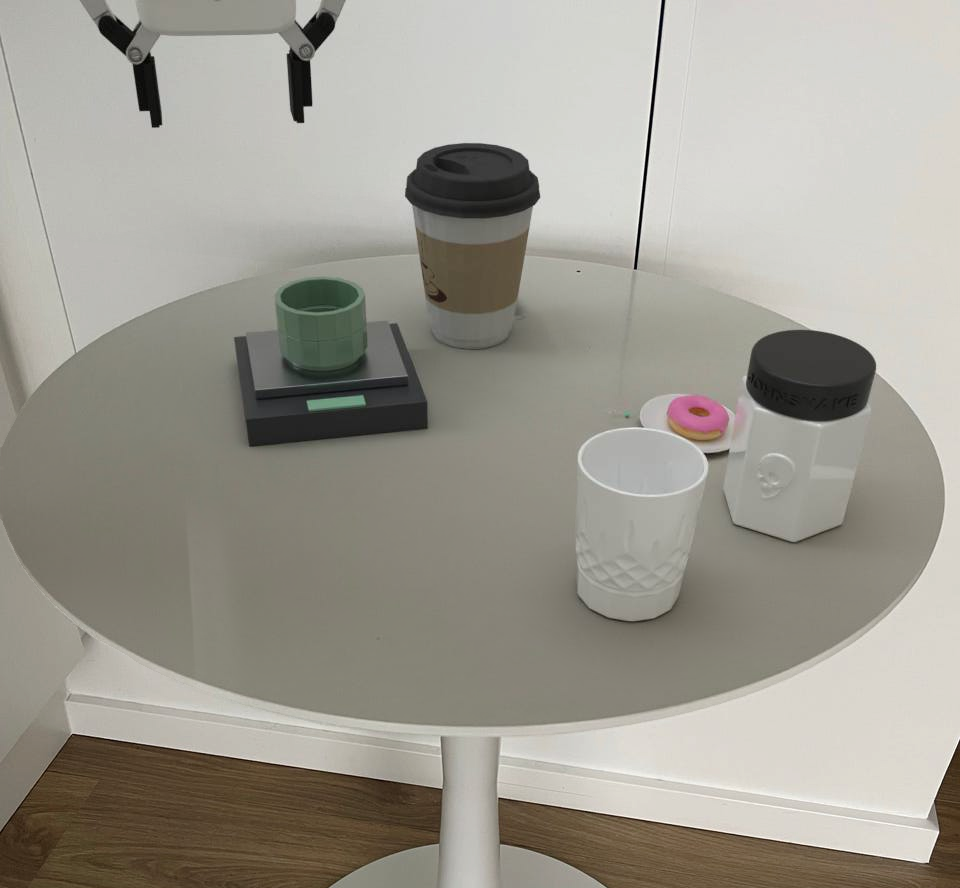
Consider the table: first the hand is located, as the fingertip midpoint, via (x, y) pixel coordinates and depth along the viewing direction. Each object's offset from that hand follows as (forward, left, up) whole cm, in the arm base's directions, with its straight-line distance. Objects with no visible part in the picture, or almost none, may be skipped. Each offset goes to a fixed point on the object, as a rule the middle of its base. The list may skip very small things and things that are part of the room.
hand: (227, 119), depth 82 cm
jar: (+36, -23, -22) cm, 48 cm away
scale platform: (+6, +1, -19) cm, 20 cm away
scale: (+6, 0, -22) cm, 23 cm away
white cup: (+22, -30, -22) cm, 43 cm away
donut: (+31, -11, -22) cm, 40 cm away
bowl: (+5, +1, -19) cm, 19 cm away
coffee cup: (+20, +9, -22) cm, 31 cm away
